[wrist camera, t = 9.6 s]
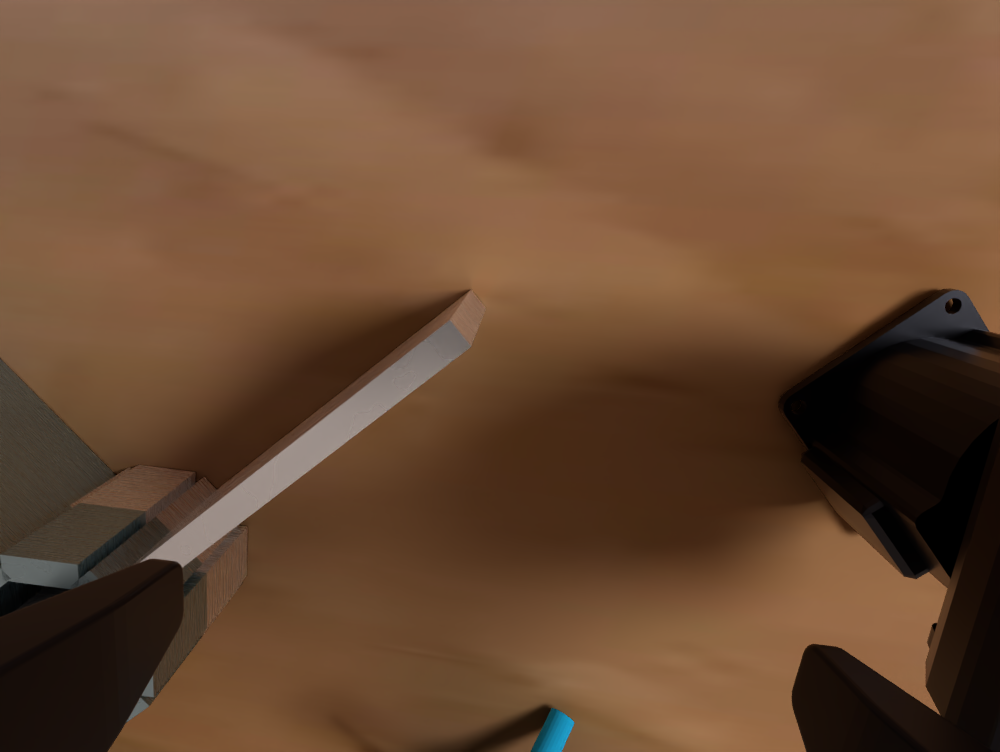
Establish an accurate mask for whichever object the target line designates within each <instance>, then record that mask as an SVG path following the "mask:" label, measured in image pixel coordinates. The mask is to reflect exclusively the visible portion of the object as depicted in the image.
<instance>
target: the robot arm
mask: <svg viewBox="0 0 1000 752" xmlns="http://www.w3.org/2000/svg"><path fill="white" fill-rule="evenodd" d="M949 299H952V301H953V305H952V308H951V309H950V310H949V311H946V310H945V305H946V302H947V301H948V300H949ZM797 400H801V406H800V407H799V408H798V409H797V410H794V411H791V405H792V404H793V402H794V401H797ZM778 407H779V410H780V412H781V414H782V415H783V416H784V418H785V419H786V421H787V422H788V424H789V425H790V426H791V428H792V429H793V431H794V432H795V434H796V435H797V436H798V438H799V439H800V441H801V442H802V444H803V445H804V446H805V448H806V449H807V451H805V452H804V453H802V458H801V463H802V464H803V466H804V467H805V469H806V470H807V471H808V473H809V474H810V476H811V477H812V479H813V480H814V481H815V483H816V484H817V486H818V487H819V488H820V490H821V491H822V493H823V494H824V496H825V497H826V498H827V500H828V501H829V503H830V504H831V505H832V507H833V508H834V510H835V511H836V512H837V514H838V515H840V516H841V517H842V518H843V519H844V520H845V521H846V522H847V523H848V524H849V525H850V526H851V527H852V528H853V529H854V530H855V531H856V532H858V533H859V534H860V535H861V536H862V537H863V538H864V539H865V540H866V541H867V542H868V543H869V544H870V545H871V546H872V547H873V548H874V549H875V550H877V551H878V552H879V553H880V554H881V555H882V556H883V557H884V558H885V559H886V560H887V561H888V562H889V563H890V564H891V565H892V566H893V567H895V568H896V569H897V570H898V571H899V572H900V573H901V574H902V575H903V576H904V577H909V578H913V579H917V578H919V577H921V576H922V575H924V574H926V573H928V572H930V573H931V574H932V575H933V576H934V577H935V578H936V579H938V580H939V581H940V582H941V583H942V584H943V585H944V586H946V587H947V588H948V589H947V593H946V596H945V599H944V603H943V606H942V609H941V613H940V616H939V619H938V623H934V624H933V625H932V627H931V631H930V634H929V637H928V641H927V644H928V646H929V652H928V656H927V659H926V688H927V690H928V692H929V694H930V696H931V697H932V699H933V701H934V703H935V705H936V707H937V709H938V711H939V713H940V715H941V716H940V715H939V714H937V713H936V712H935V711H933V710H932V709H930V708H929V707H927V706H926V705H924V704H923V703H921V702H920V701H918V700H917V699H915V698H914V697H912V696H911V695H909V694H908V693H906V692H905V691H904V690H902V689H901V688H899V687H898V686H896V685H895V684H893V683H892V682H890V681H889V680H887V679H886V678H884V677H883V676H881V675H880V674H878V673H877V672H875V671H874V670H872V669H871V668H870V667H868V666H867V665H865V664H864V663H862V662H861V661H859V660H858V659H856V658H855V657H853V656H852V655H850V654H849V653H847V652H846V651H844V650H843V649H841V648H838V647H834V646H827V645H819V644H811V645H809V646H807V648H806V649H805V651H804V653H803V656H802V659H801V663H800V666H799V669H798V673H797V676H796V679H795V683H794V686H793V690H792V706H793V710H794V714H795V717H796V720H797V723H798V726H799V730H800V733H801V736H802V739H803V742H804V745H805V749H806V752H1000V334H997V333H993V332H989V330H988V329H987V327H986V325H985V324H984V322H983V320H982V319H981V317H980V315H979V314H978V312H977V310H976V308H975V307H974V305H973V303H972V302H971V300H970V298H969V297H968V296H967V295H966V293H965V292H962V291H959V290H955V289H942V290H940V291H938V292H936V293H935V294H933V295H932V296H930V297H929V298H927V299H926V300H924V301H923V302H921V303H920V304H918V305H916V306H915V307H913V308H912V309H910V310H909V311H907V312H906V313H904V314H903V315H901V316H900V317H898V318H897V319H895V320H894V321H892V322H891V323H889V324H888V325H886V326H885V327H883V328H882V329H880V330H879V331H877V332H876V333H874V334H873V335H871V336H870V337H868V338H867V339H865V340H864V341H862V342H861V343H859V344H858V345H856V346H855V347H853V348H852V349H850V350H849V351H847V352H846V353H844V354H843V355H841V356H840V357H838V358H837V359H835V360H834V361H832V362H831V363H829V364H828V365H826V366H824V367H823V368H821V369H820V370H818V371H817V372H815V373H814V374H812V375H811V376H809V377H808V378H806V379H805V380H803V381H802V382H800V383H799V384H797V385H796V386H794V387H793V388H791V389H790V390H788V391H787V392H785V393H784V394H783V395H782V396H781V398H780V400H779V406H778ZM183 614H184V591H183V569H182V566H181V565H180V564H179V563H178V562H176V561H169V560H162V559H148V560H145V561H142V562H140V563H137V564H135V565H132V566H130V567H127V568H124V569H122V570H119V571H117V572H114V573H112V574H109V575H107V576H104V577H101V578H99V579H96V580H94V581H91V582H89V583H86V584H84V585H81V586H78V587H76V588H73V589H71V590H68V591H66V592H63V593H61V594H58V595H55V596H53V597H50V598H48V599H45V600H43V601H40V602H38V603H35V604H32V605H30V606H27V607H25V608H22V609H20V610H17V611H14V612H12V613H9V614H7V615H4V616H2V617H0V752H107V751H108V750H109V748H110V747H111V745H112V744H113V742H114V741H115V739H116V738H117V736H118V735H119V733H120V732H121V730H122V728H123V727H124V725H125V723H126V722H127V720H128V718H129V717H130V715H131V713H132V712H133V710H134V708H135V706H136V704H137V703H138V701H139V699H140V697H141V696H142V694H143V692H144V690H145V688H146V687H147V685H148V683H149V681H150V680H151V678H152V676H153V674H154V672H155V671H156V669H157V667H158V665H159V664H160V662H161V660H162V658H163V656H164V655H165V653H166V651H167V649H168V648H169V646H170V644H171V642H172V640H173V639H174V637H175V635H176V633H177V632H178V630H179V628H180V625H181V623H182V619H183Z"/></svg>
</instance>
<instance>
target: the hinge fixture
mask: <svg viewBox="0 0 1000 752" xmlns="http://www.w3.org/2000/svg"><path fill="white" fill-rule="evenodd" d="M485 310H486V308H485V306H484V305H483V304H482V303H481V301H480V300H479V299H478V298H477V296H476V295H475V294H474V292H473V291H472V290H470V291H468V292H467V293H466V294H464V295H463V296H462V297H461V298H459V299H458V300H457V301H456V302H454V303H453V304H452V305H451V306H449V307H448V308H447V309H445V310H444V311H443V312H442V313H440V314H439V315H438V316H437V317H435V318H434V319H433V320H431V321H430V322H429V323H428V324H426V325H425V326H424V327H423V328H421V329H420V330H419V331H418V332H416V333H415V334H414V335H412V336H411V337H410V338H409V339H407V340H406V341H405V342H404V343H402V344H401V345H400V346H398V347H397V348H396V349H395V350H393V351H392V352H391V353H390V354H388V355H387V356H386V357H384V358H383V359H382V360H381V361H379V362H378V363H377V364H376V365H374V366H373V367H372V368H371V369H369V370H368V371H367V372H365V373H364V374H363V375H362V376H360V377H359V378H358V379H357V380H355V381H354V382H353V383H351V384H350V385H349V386H348V387H346V388H345V389H344V390H343V391H341V392H340V393H339V394H338V395H336V396H335V397H334V398H332V399H331V400H330V401H329V402H327V403H326V404H325V405H324V406H322V407H321V408H320V409H318V410H317V411H316V412H315V413H313V414H312V415H311V416H310V417H308V418H307V419H306V420H304V421H303V422H302V423H301V424H299V425H298V426H297V427H296V428H294V429H293V430H292V431H291V432H289V433H288V434H287V435H285V436H284V437H283V438H282V439H280V440H279V441H278V442H277V443H275V444H274V445H273V446H271V447H270V448H269V449H268V450H266V451H265V452H264V453H263V454H261V455H260V456H259V457H258V458H256V459H255V460H254V461H252V462H251V463H250V464H249V465H247V466H246V467H245V468H244V469H242V470H241V471H240V472H238V473H237V474H236V475H235V476H233V477H232V478H231V479H230V480H228V481H227V482H226V483H224V484H223V485H222V486H221V487H219V488H218V489H216V488H215V487H214V486H213V485H212V484H211V483H210V482H209V481H208V480H207V479H206V478H205V477H203V478H202V479H201V480H199V481H198V482H197V483H196V484H195V472H191V471H183V470H175V469H168V468H160V467H152V466H144V465H137V466H136V467H134V468H132V469H131V468H130V467H129V468H127V469H126V470H124V471H122V472H121V473H119V474H118V475H115V474H114V473H113V472H112V471H111V470H110V469H109V468H108V467H107V466H106V465H105V464H104V463H103V462H102V461H101V460H100V459H99V458H98V457H97V456H96V455H95V454H94V453H93V452H92V451H91V450H90V449H89V448H88V447H87V445H86V444H85V443H84V442H83V441H82V440H81V439H80V438H79V437H78V436H77V435H76V434H75V433H74V432H73V431H72V430H71V429H70V428H69V427H68V426H67V425H66V424H65V423H64V422H63V421H62V420H61V419H60V418H59V417H58V416H57V415H56V414H55V413H54V412H53V411H52V410H51V409H50V408H49V407H48V406H47V405H46V404H45V403H44V402H43V401H42V400H41V399H40V398H39V397H38V396H37V395H36V394H35V393H34V392H33V391H32V390H31V389H30V388H29V387H28V386H27V385H26V384H25V383H24V382H23V381H22V380H21V379H20V378H19V377H18V376H17V375H16V374H15V373H14V372H13V371H12V370H11V369H10V368H9V367H8V366H7V365H6V364H5V363H4V362H3V361H2V360H1V359H0V617H2V616H4V615H7V614H9V613H12V612H13V611H15V610H16V609H17V608H19V607H20V606H21V605H22V604H24V603H25V602H26V601H28V600H29V599H30V598H31V597H33V596H34V595H35V594H37V593H38V592H39V591H40V590H42V589H43V588H44V587H46V586H49V587H57V588H65V589H73V588H76V587H78V586H81V585H84V584H86V583H89V582H91V581H94V580H96V579H99V578H101V577H104V576H107V575H109V574H112V573H114V572H117V571H119V570H122V569H124V568H127V567H130V566H132V565H135V564H137V563H140V562H142V561H145V560H148V559H162V560H169V561H176V562H178V563H179V564H180V565H181V566H182V569H183V591H184V614H183V619H182V623H181V625H180V628H179V630H178V632H177V633H176V635H175V637H174V639H173V640H172V642H171V644H170V646H169V648H168V649H167V651H166V653H165V655H164V656H163V658H162V660H161V662H160V664H159V665H158V667H157V669H156V671H155V672H154V674H153V676H152V678H151V680H150V681H149V683H148V685H147V687H146V688H145V690H144V692H143V694H142V696H141V697H140V699H139V701H138V703H137V704H136V706H135V708H134V710H133V712H132V713H131V715H130V717H129V718H128V720H127V722H128V721H129V720H131V719H132V718H133V717H135V716H136V715H138V714H139V713H140V712H142V711H143V710H145V709H146V708H147V707H149V706H150V705H151V703H152V702H153V701H154V699H155V698H156V697H157V695H158V694H159V693H160V691H161V690H162V689H163V687H164V686H165V685H166V684H167V682H168V681H169V680H170V678H171V677H172V676H173V674H174V673H175V672H176V670H177V669H178V668H179V666H180V665H181V664H182V662H183V661H184V660H185V659H186V657H187V656H188V655H189V653H190V652H191V651H192V649H193V648H194V647H195V645H196V644H197V643H198V641H199V640H200V639H201V637H202V636H203V635H204V633H205V632H206V631H207V630H208V628H209V627H210V626H211V624H212V623H213V622H214V620H215V619H216V618H217V616H218V615H219V614H220V612H221V611H222V610H223V608H224V607H225V606H226V605H227V603H228V602H229V601H230V599H231V598H232V597H233V595H234V594H235V593H236V591H237V590H238V589H239V587H240V586H241V585H242V583H243V582H242V581H243V580H244V579H245V577H246V576H247V528H248V527H247V526H239V524H240V523H241V522H243V521H244V520H245V519H246V518H248V517H249V516H250V515H252V514H253V513H254V512H256V511H257V510H258V509H260V508H261V507H262V506H263V505H265V504H266V503H267V502H269V501H270V500H271V499H273V498H274V497H275V496H277V495H278V494H279V493H280V492H282V491H283V490H284V489H286V488H287V487H288V486H290V485H291V484H292V483H294V482H295V481H296V480H297V479H299V478H300V477H301V476H303V475H304V474H305V473H307V472H308V471H309V470H311V469H312V468H313V467H314V466H316V465H317V464H318V463H320V462H321V461H322V460H324V459H325V458H326V457H328V456H329V455H330V454H331V453H333V452H334V451H335V450H337V449H338V448H339V447H341V446H342V445H343V444H345V443H346V442H347V441H348V440H350V439H351V438H352V437H354V436H355V435H356V434H358V433H359V432H360V431H362V430H363V429H364V428H365V427H367V426H368V425H369V424H371V423H372V422H373V421H375V420H376V419H377V418H379V417H380V416H381V415H382V414H384V413H385V412H386V411H388V410H389V409H390V408H392V407H393V406H394V405H396V404H397V403H398V402H399V401H401V400H402V399H403V398H405V397H406V396H407V395H409V394H410V393H411V392H413V391H414V390H415V389H416V388H418V387H419V386H420V385H422V384H423V383H424V382H426V381H427V380H428V379H430V378H431V377H432V376H433V375H435V374H436V373H437V372H439V371H440V370H441V369H443V368H444V367H445V366H447V365H448V364H449V363H450V362H452V361H453V360H454V359H456V358H457V357H458V356H460V355H461V354H462V353H464V352H465V351H466V350H467V349H469V348H470V347H471V346H472V343H473V341H474V338H475V336H476V333H477V330H478V328H479V325H480V323H481V320H482V318H483V315H484V312H485Z"/></svg>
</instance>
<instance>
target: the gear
mask: <svg viewBox="0 0 1000 752" xmlns="http://www.w3.org/2000/svg"><path fill="white" fill-rule="evenodd" d="M573 725H574V721H573V720H572V719H571V718H569V717H568V716H567V715H565V714H564V713H562V712H560V711H559V710H557V709H554V708H551V710H550V713H549V715H548V717H547V719H546V721H545V723H544V725H543V727H542V729H541V731H540V733H539V735H538V737H537V740H536V742H535V744H534V746H533V748H532V750H531V752H562V750H563V747H564V745H565V743H566V741H567V739H568V736H569V734H570V732H571V730H572V728H573Z"/></svg>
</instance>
